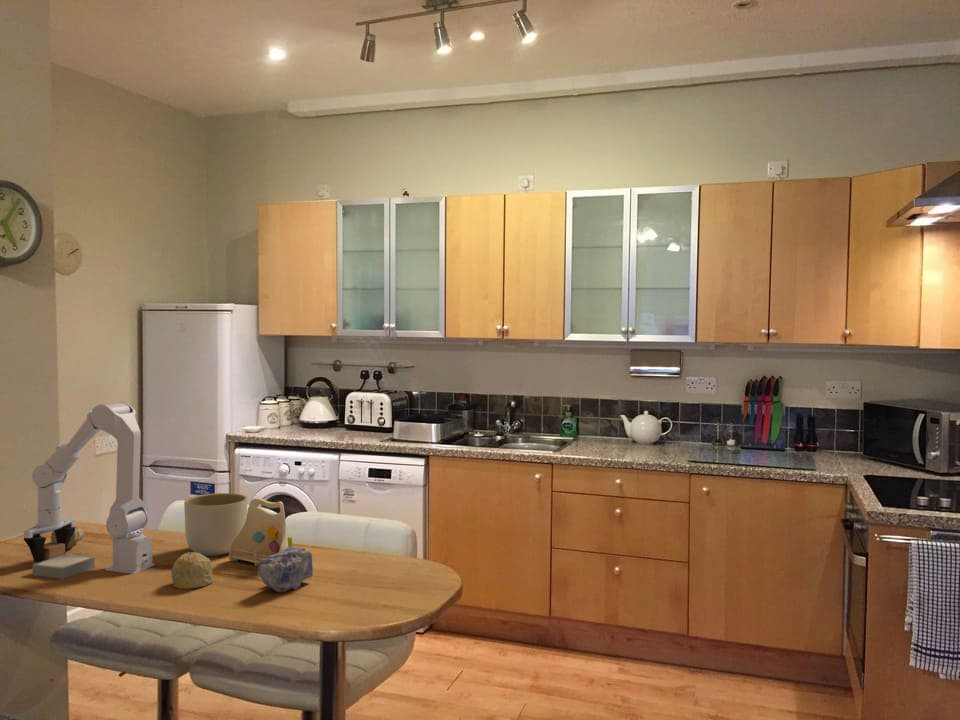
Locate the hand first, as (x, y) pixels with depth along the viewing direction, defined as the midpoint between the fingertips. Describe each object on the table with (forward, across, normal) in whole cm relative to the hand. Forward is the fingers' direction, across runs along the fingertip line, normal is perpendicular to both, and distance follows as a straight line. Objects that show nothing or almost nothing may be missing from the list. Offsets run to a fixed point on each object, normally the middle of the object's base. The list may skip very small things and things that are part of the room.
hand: (50, 558), depth 203 cm
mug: (+2, -15, -9) cm, 18 cm away
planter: (+2, -24, +35) cm, 42 cm away
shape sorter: (+2, -19, +55) cm, 59 cm away
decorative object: (+2, +1, +50) cm, 50 cm away
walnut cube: (+2, 0, 0) cm, 2 cm away
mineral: (+2, -1, +71) cm, 71 cm away
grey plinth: (+1, +5, +10) cm, 11 cm away
